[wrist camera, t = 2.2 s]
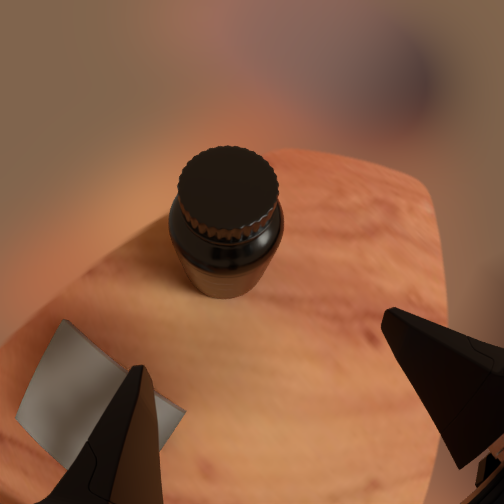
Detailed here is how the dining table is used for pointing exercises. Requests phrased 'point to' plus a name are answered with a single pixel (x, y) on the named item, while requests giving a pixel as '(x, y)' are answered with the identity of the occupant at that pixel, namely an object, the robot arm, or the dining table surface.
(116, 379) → the plate
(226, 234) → the supplement bottle
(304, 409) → the dining table surface
